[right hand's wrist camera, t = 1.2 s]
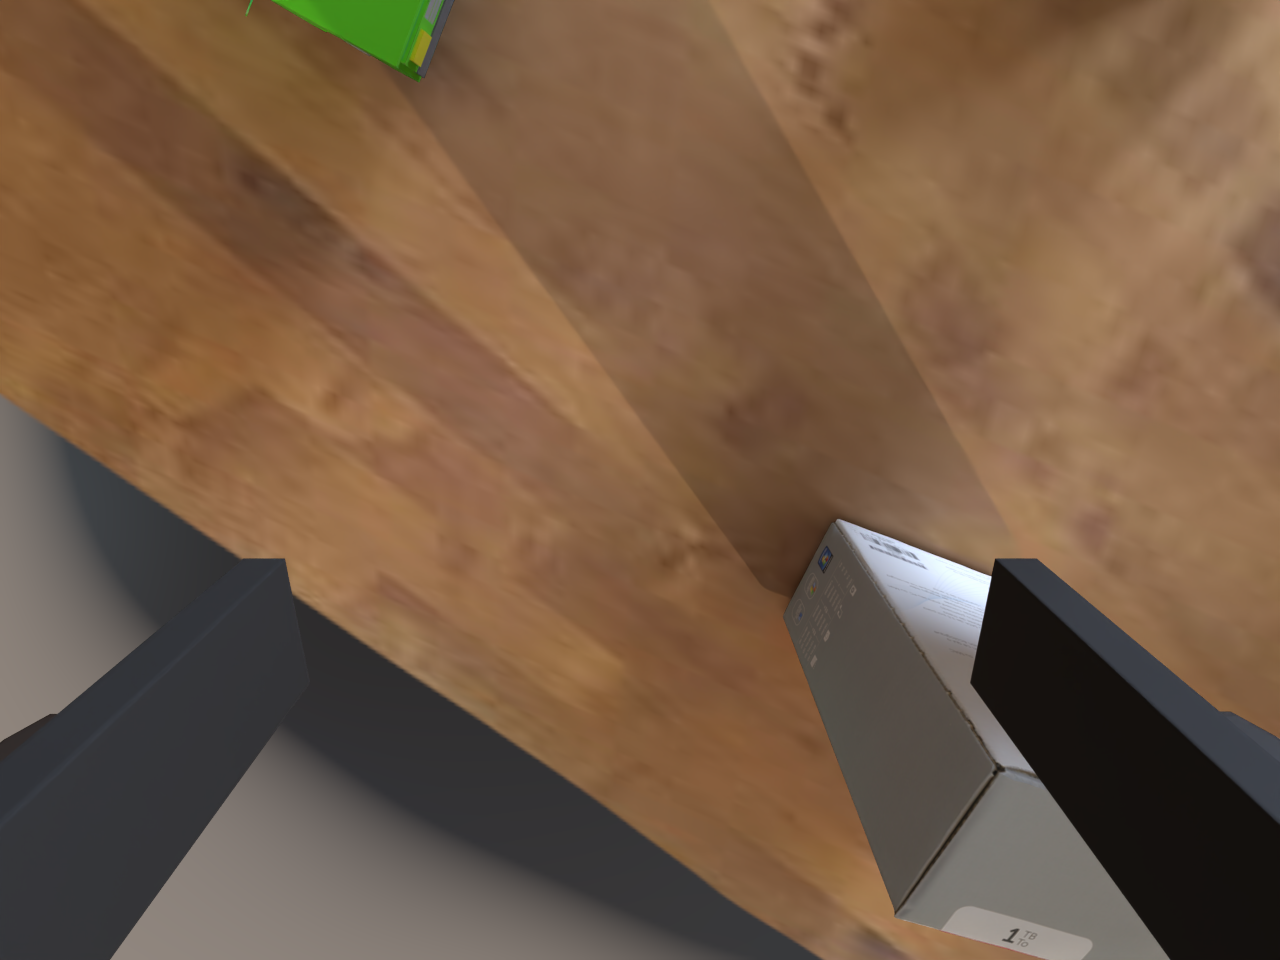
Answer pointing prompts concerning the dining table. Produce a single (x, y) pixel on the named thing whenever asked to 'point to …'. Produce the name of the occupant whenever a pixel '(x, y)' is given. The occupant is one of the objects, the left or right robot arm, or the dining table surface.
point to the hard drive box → (944, 758)
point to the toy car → (380, 27)
